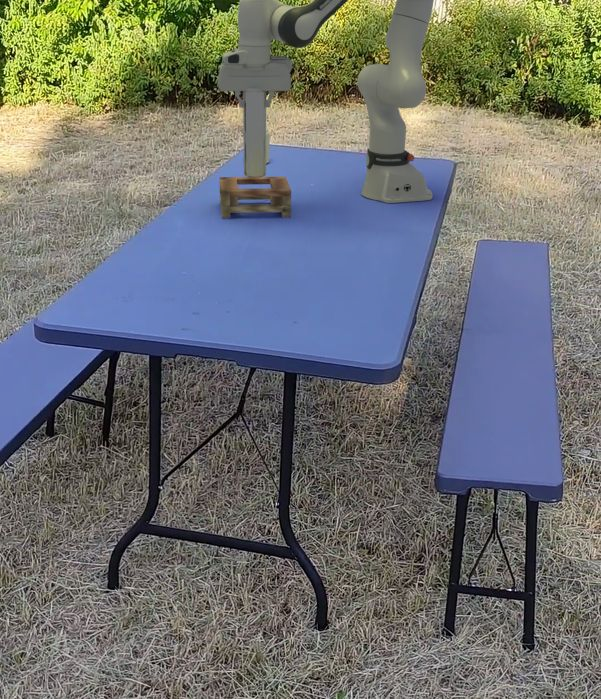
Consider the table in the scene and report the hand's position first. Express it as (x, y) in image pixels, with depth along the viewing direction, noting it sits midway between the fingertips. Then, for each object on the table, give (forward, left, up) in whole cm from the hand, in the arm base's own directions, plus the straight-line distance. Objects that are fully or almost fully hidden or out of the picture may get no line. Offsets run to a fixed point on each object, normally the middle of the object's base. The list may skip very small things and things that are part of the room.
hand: (254, 107), depth 240 cm
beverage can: (-5, -55, -30) cm, 63 cm away
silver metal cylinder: (0, 0, -20) cm, 20 cm away
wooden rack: (0, 0, -30) cm, 30 cm away
